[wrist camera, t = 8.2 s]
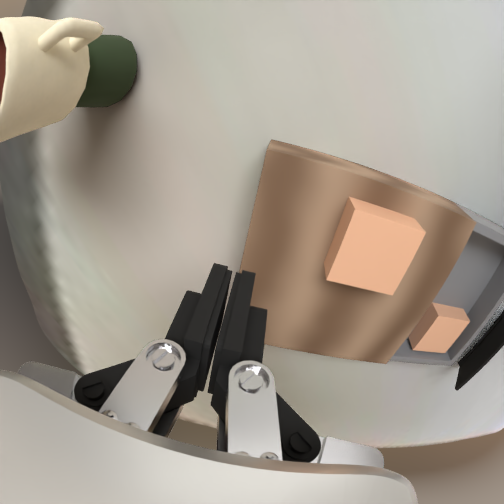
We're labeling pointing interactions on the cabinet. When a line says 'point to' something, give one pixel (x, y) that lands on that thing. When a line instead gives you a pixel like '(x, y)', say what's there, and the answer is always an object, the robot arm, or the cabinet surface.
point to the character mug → (58, 70)
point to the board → (317, 246)
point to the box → (468, 290)
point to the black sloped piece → (481, 352)
